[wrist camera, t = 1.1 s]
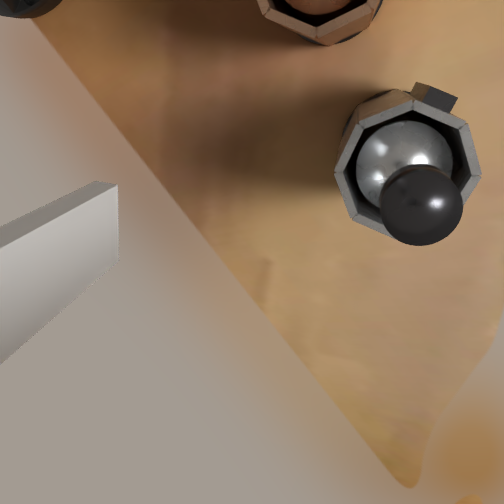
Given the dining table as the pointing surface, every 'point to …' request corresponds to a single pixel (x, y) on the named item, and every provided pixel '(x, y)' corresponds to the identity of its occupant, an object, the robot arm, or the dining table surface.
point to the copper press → (323, 20)
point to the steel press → (400, 109)
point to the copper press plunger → (318, 6)
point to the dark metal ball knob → (410, 182)
